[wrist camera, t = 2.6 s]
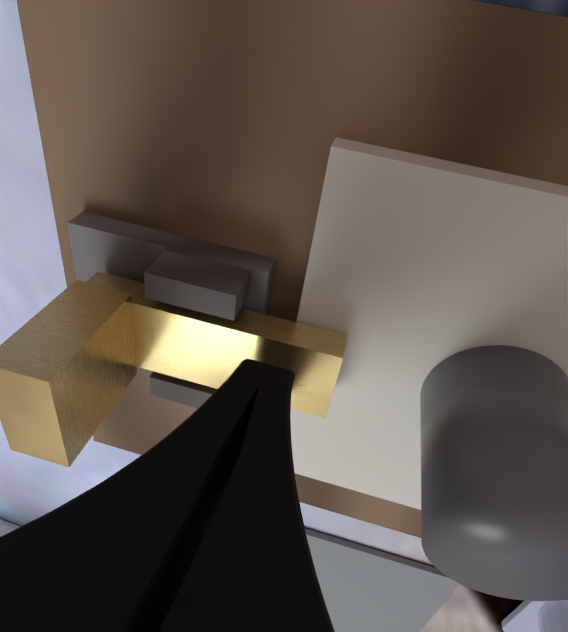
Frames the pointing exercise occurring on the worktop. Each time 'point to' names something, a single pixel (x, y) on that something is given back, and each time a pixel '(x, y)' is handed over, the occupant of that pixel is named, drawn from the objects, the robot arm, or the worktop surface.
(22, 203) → the worktop surface
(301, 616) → the robot arm
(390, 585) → the mat
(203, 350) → the notched brass block
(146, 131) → the board
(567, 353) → the cover
